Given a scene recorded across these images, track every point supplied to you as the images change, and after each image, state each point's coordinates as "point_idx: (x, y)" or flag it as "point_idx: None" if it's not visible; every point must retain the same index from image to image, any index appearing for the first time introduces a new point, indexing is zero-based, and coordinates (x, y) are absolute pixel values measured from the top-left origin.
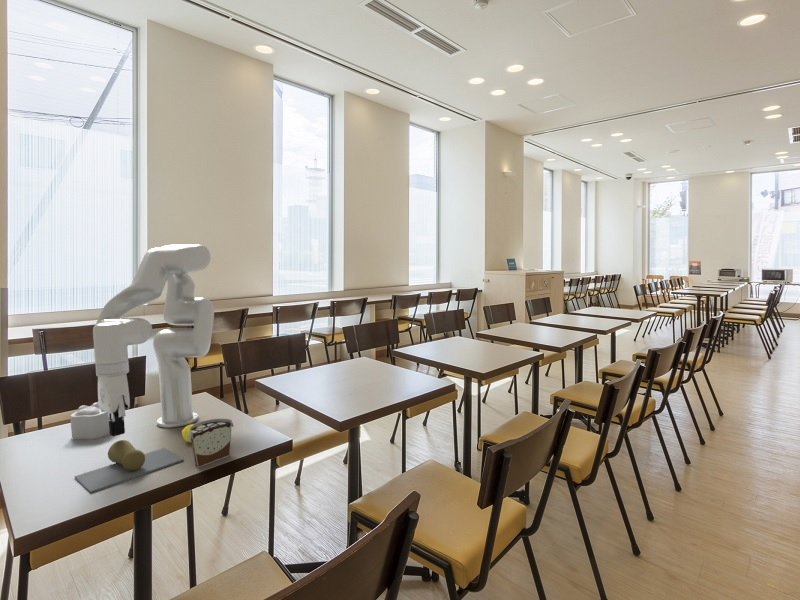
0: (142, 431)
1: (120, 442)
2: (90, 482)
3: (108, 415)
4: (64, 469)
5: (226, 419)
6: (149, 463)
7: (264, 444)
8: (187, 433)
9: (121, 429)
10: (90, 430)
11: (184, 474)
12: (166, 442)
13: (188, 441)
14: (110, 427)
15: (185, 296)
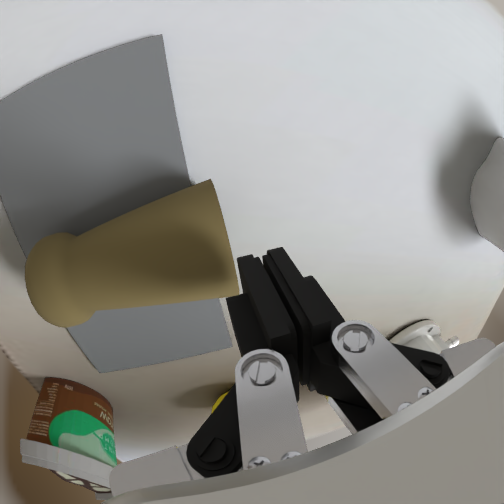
0: (420, 290)
1: (205, 271)
2: (46, 100)
3: (382, 353)
4: (305, 20)
5: (108, 498)
6: None
7: (125, 453)
8: None
9: (235, 334)
10: (497, 180)
11: (17, 351)
12: None
13: (225, 393)
14: (285, 290)
15: None
